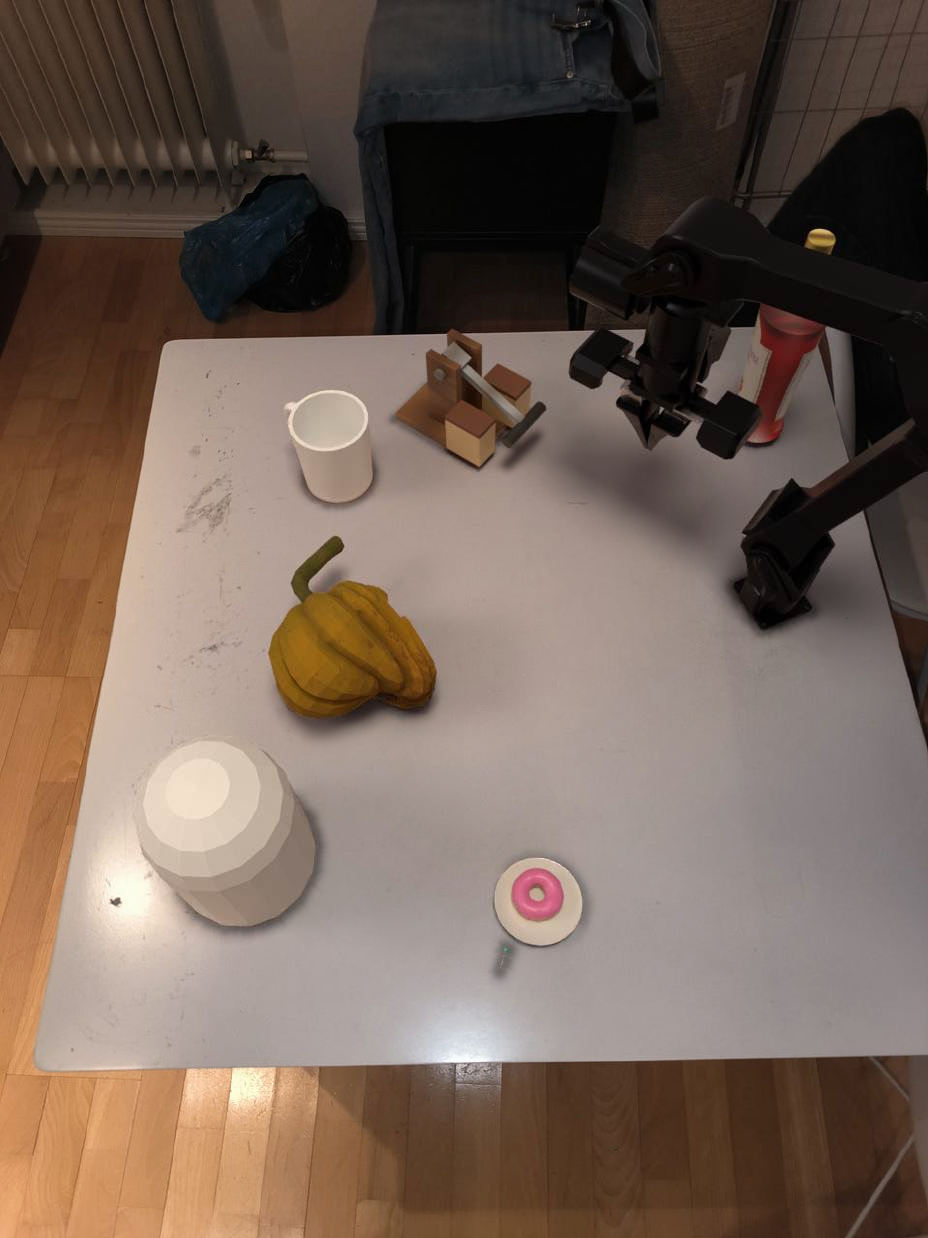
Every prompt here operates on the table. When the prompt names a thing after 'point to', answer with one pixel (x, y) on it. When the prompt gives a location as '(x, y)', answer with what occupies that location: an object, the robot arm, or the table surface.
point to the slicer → (444, 391)
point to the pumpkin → (346, 648)
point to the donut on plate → (538, 901)
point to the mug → (332, 444)
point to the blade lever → (496, 397)
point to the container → (225, 830)
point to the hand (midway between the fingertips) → (650, 446)
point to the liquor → (780, 356)
